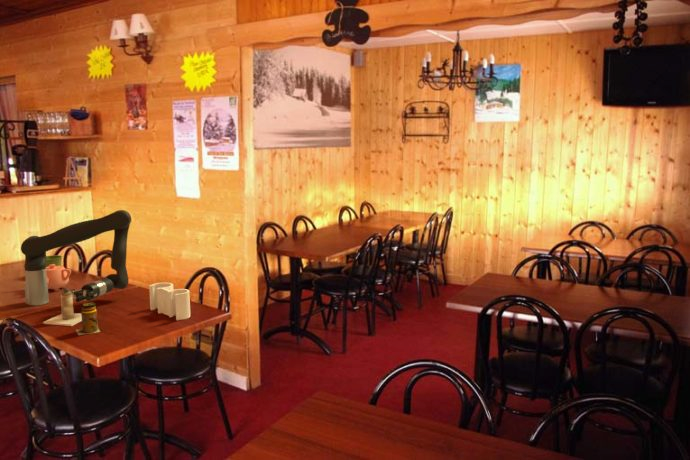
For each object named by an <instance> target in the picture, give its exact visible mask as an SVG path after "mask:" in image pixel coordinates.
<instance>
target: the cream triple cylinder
mask: <svg viewBox="0 0 690 460" xmlns="http://www.w3.org/2000/svg"><path fill="white" fill-rule="evenodd" d="M148 288H149V289H148V291H149V304H150V305H149V306H150V311H155V310H156V309H157V313H158V314H163V315H166V316H168V317H169V318H172V317H174V316H175V320H176V321H180V320H187V319H189V318H190V317H191V299H190V289H186V288H176V289H174V284H173V283H172V282H157V283H156V282H155V283H153V284H149V286H148Z"/></svg>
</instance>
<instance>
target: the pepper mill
mask: <svg viewBox="0 0 690 460" xmlns="http://www.w3.org/2000/svg"><path fill="white" fill-rule="evenodd" d="M65 287H66V288H62V291H61V294H60V296H61V299H60V307H61V314H62V319H63V320H69V319H73V318H74V313H75V311H74V299H73V296H72V293H71V291H70V288H68V287H67V286H65Z"/></svg>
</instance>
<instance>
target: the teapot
mask: <svg viewBox="0 0 690 460" xmlns="http://www.w3.org/2000/svg"><path fill="white" fill-rule="evenodd" d="M46 273H47V284H48V290H53V291H54V292H59V291H61V289H64V288H66V287H67V285H68V284H69V280H70V278H69V277H70V276H71V274H72V269H70V268H65V266H64V265H63V266H62V265H61V266H55V264H51V265H49V266H48V267H46Z"/></svg>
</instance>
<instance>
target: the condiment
mask: <svg viewBox="0 0 690 460" xmlns="http://www.w3.org/2000/svg"><path fill="white" fill-rule="evenodd" d="M80 314H81V315H82V321H81V327H82V328H79V329H75V331H76V334H77V335H78V336H83V335H88V334H90V335H91V334H95V333H101V330H100V328H99V326H98V310H97V309H96V302H85V303H82V304H81V312H80Z"/></svg>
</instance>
